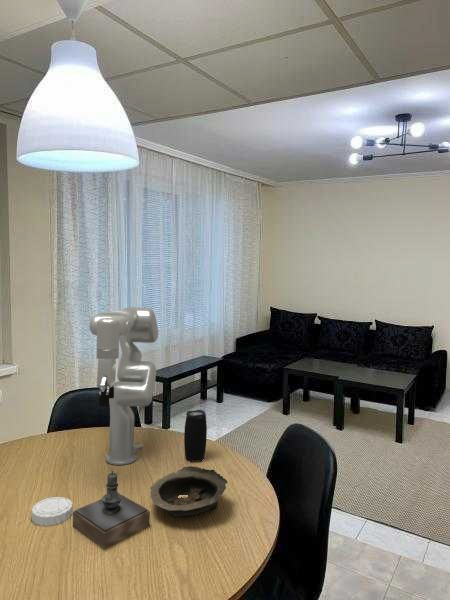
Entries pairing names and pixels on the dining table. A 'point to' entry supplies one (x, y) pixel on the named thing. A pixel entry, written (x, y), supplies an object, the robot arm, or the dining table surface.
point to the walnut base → (110, 521)
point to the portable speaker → (195, 435)
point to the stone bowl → (188, 491)
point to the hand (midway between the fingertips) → (106, 402)
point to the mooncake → (52, 511)
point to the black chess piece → (111, 495)
